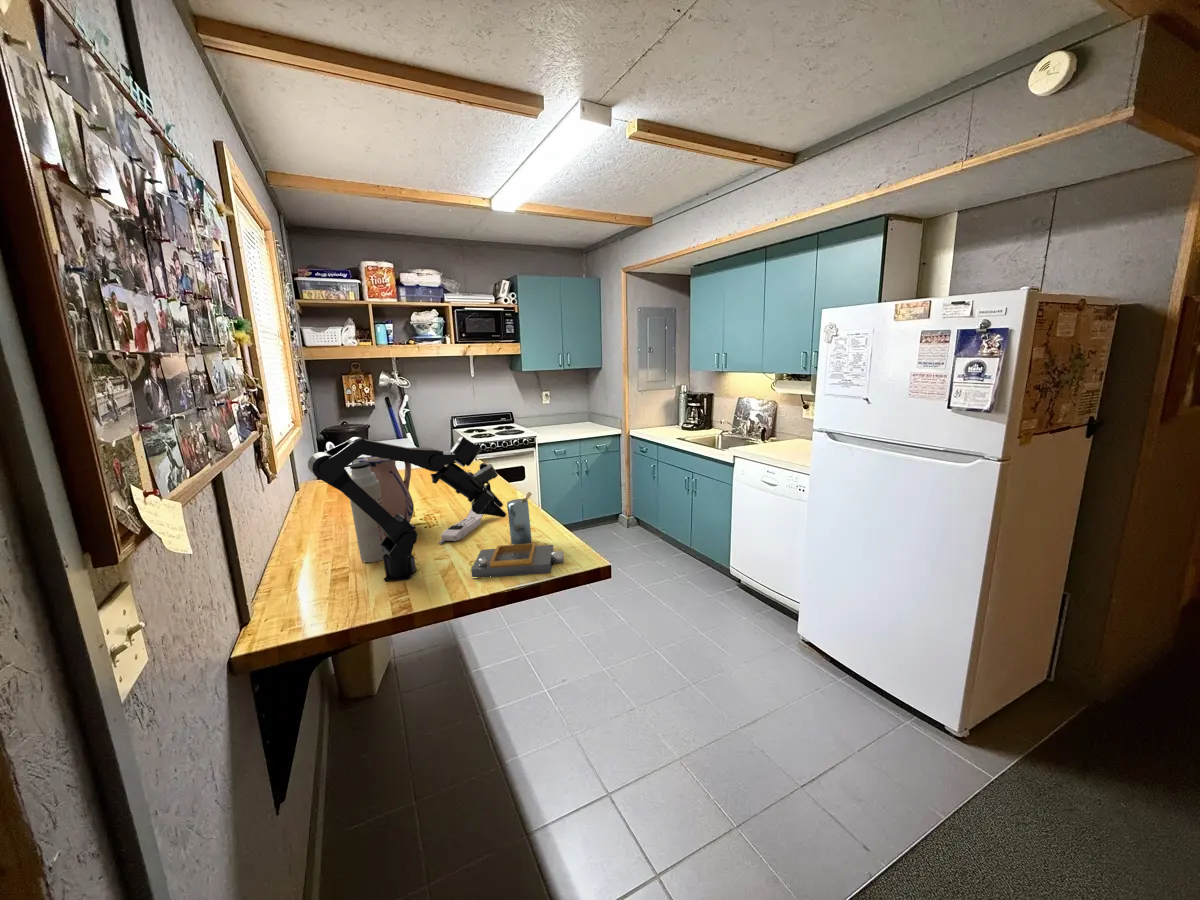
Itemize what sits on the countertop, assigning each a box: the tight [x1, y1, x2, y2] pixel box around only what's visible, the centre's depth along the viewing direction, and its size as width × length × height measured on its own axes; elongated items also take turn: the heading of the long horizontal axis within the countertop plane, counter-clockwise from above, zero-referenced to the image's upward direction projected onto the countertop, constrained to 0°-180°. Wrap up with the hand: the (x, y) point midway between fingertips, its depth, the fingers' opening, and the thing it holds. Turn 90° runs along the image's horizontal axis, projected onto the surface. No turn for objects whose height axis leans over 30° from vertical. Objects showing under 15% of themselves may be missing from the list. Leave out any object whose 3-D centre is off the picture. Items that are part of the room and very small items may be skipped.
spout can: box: [506, 491, 533, 545], centre depth 139 cm, size 7×6×16 cm
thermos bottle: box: [349, 462, 386, 563], centre depth 134 cm, size 8×8×28 cm
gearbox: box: [470, 542, 565, 578], centre depth 126 cm, size 23×12×4 cm, turn 92°
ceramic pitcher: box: [358, 456, 415, 523], centre depth 156 cm, size 18×21×25 cm
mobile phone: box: [438, 507, 484, 545], centre depth 154 cm, size 6×6×25 cm
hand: (503, 510), depth 137 cm, fingers open, 9 cm apart
